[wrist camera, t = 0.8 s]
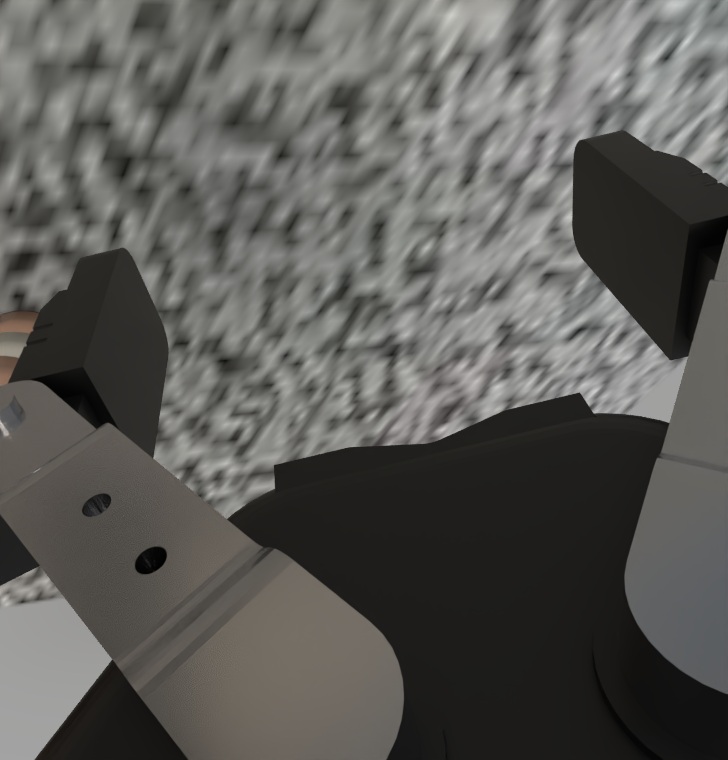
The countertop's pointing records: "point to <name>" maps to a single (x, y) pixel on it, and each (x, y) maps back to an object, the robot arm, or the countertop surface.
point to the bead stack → (13, 339)
